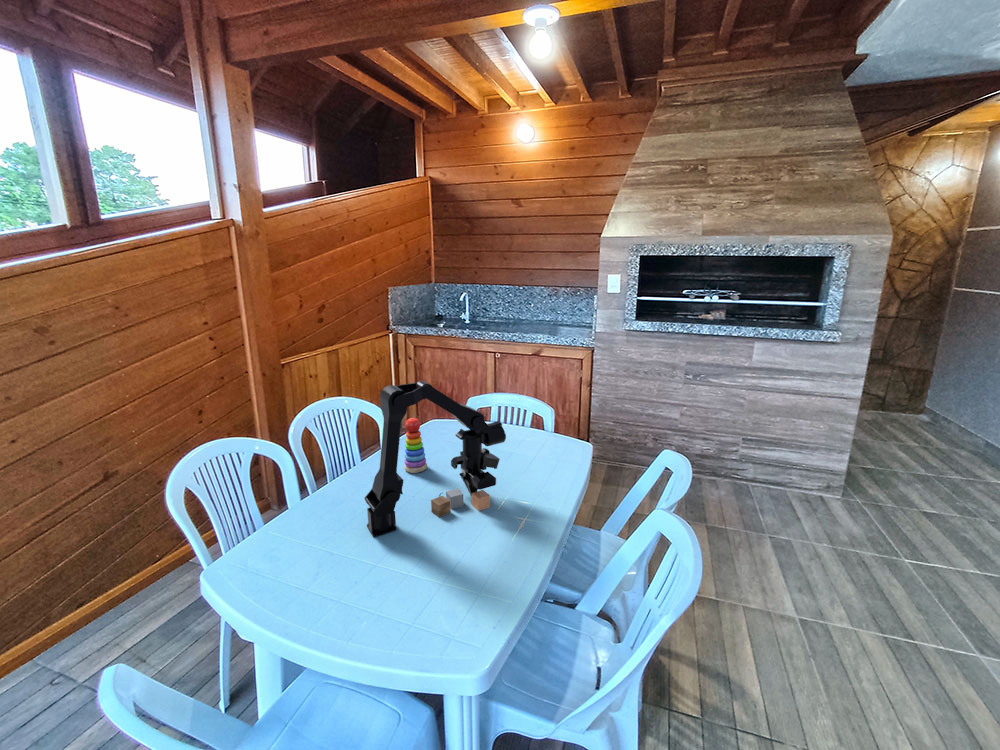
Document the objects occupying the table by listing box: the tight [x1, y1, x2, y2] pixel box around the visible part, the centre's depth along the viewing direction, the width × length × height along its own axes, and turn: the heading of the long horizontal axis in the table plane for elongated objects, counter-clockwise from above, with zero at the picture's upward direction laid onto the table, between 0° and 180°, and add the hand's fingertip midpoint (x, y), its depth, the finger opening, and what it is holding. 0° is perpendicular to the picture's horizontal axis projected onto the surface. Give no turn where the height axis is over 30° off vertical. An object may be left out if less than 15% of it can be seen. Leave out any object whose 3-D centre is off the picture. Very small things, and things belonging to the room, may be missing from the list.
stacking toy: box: [403, 417, 428, 474], centre depth 165 cm, size 8×8×19 cm
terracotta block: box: [471, 489, 491, 511], centre depth 142 cm, size 4×4×4 cm
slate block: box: [445, 488, 465, 510], centre depth 143 cm, size 4×4×4 cm
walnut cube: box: [430, 495, 452, 518], centre depth 139 cm, size 4×4×4 cm
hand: (473, 496), depth 146 cm, fingers closed
